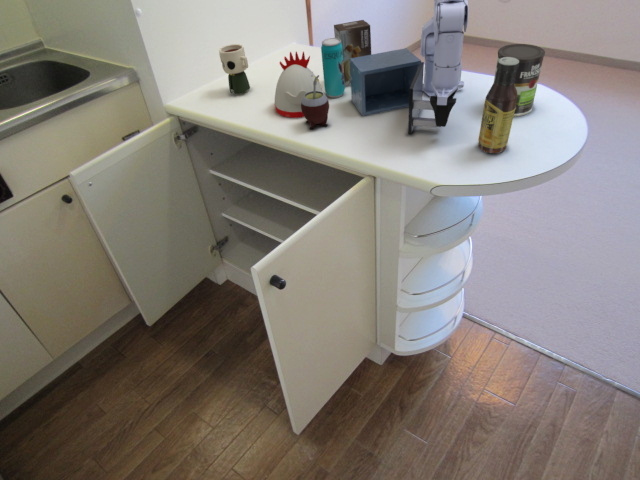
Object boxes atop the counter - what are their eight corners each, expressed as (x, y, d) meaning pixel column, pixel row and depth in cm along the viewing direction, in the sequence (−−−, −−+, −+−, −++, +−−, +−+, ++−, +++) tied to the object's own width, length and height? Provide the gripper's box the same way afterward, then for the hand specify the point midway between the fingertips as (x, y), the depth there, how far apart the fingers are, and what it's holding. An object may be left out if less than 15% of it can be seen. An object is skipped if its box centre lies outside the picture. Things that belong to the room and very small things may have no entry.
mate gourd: (312, 116, 125) (306, 60, 115) (338, 121, 121) (334, 63, 111) (297, 129, 120) (289, 71, 110) (324, 134, 117) (318, 75, 107)
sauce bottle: (473, 142, 107) (485, 55, 94) (500, 139, 107) (516, 51, 94) (483, 157, 102) (497, 67, 89) (511, 153, 102) (530, 63, 89)
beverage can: (343, 99, 131) (340, 44, 121) (323, 99, 132) (318, 45, 122) (346, 90, 135) (343, 37, 125) (327, 90, 136) (322, 37, 126)
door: (447, 106, 121) (452, 62, 114) (440, 136, 110) (444, 89, 103) (418, 105, 123) (420, 61, 116) (407, 134, 112) (409, 88, 105)
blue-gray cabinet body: (419, 104, 124) (421, 60, 116) (362, 116, 122) (360, 71, 114) (405, 90, 131) (406, 48, 124) (351, 101, 129) (349, 58, 122)
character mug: (219, 93, 142) (209, 49, 134) (235, 84, 146) (226, 41, 138) (245, 99, 137) (235, 55, 128) (261, 90, 141) (253, 46, 132)
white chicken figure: (323, 116, 124) (318, 59, 114) (273, 119, 125) (263, 64, 116) (325, 94, 135) (320, 40, 125) (278, 97, 136) (270, 44, 126)
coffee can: (541, 108, 116) (555, 51, 107) (510, 120, 113) (521, 62, 104) (510, 95, 123) (521, 40, 114) (480, 106, 120) (488, 50, 111)
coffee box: (366, 74, 143) (364, 18, 132) (372, 81, 138) (371, 25, 127) (337, 79, 142) (333, 24, 131) (343, 87, 137) (339, 30, 126)
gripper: (464, 76, 94) (457, 136, 103) (468, 50, 104) (461, 107, 113) (428, 75, 96) (425, 135, 105) (436, 50, 106) (432, 106, 115)
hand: (442, 120), depth 109 cm, fingers open, 5 cm apart
